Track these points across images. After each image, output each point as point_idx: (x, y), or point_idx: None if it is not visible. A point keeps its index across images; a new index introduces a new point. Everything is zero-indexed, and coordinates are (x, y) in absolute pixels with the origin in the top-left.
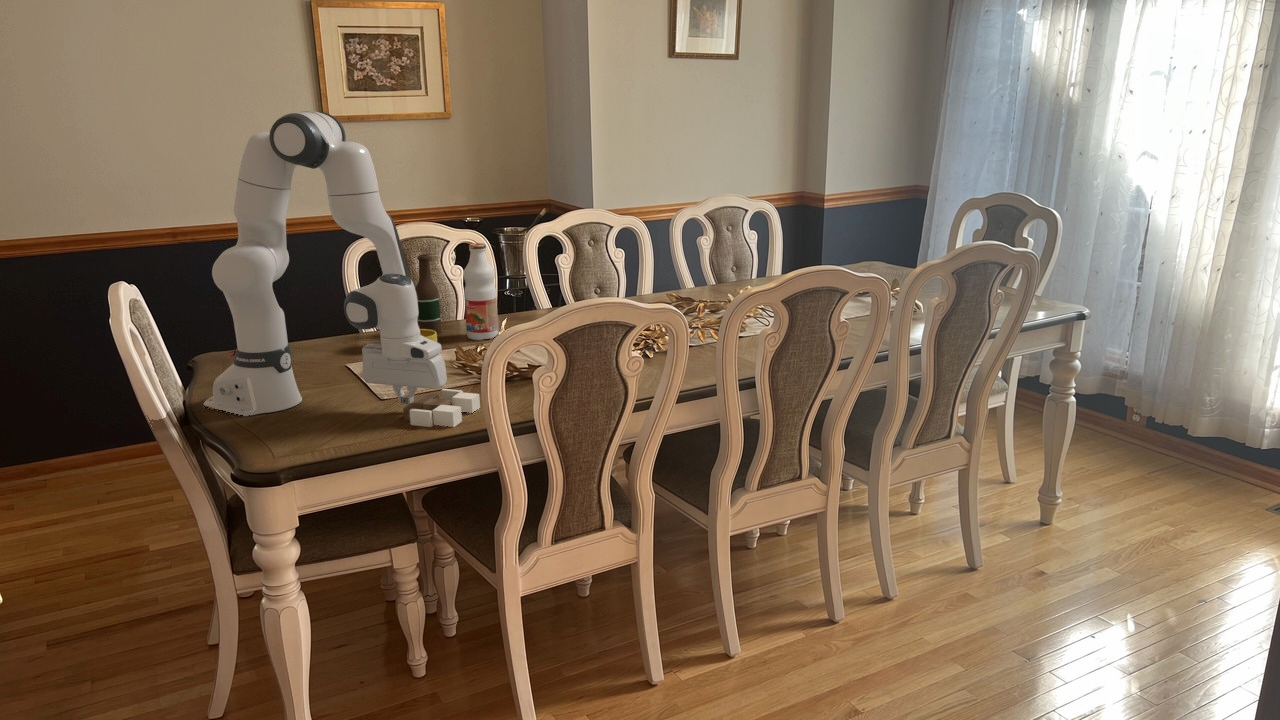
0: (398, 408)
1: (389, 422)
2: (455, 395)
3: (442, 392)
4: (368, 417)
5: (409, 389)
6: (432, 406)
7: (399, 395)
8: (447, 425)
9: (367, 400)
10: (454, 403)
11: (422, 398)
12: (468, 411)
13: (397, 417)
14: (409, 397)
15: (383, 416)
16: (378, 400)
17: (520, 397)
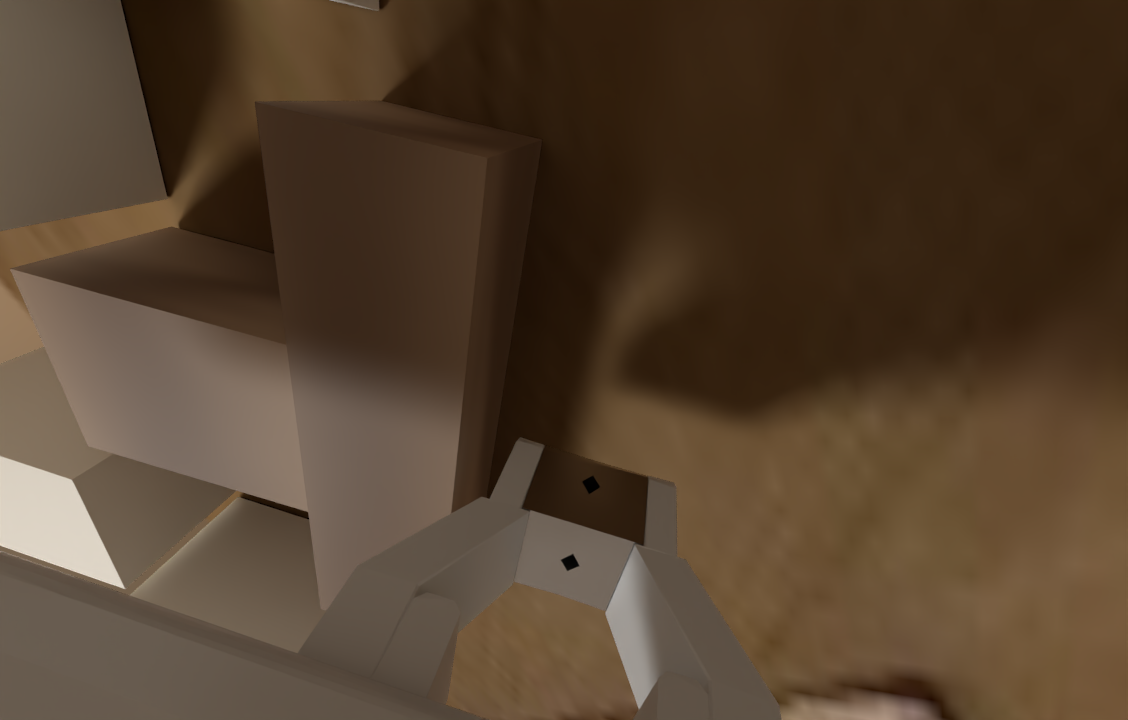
0: (718, 503)
1: (732, 26)
2: (88, 523)
3: None
4: (1110, 242)
5: (405, 616)
6: (168, 297)
7: (656, 566)
8: None
9: (1075, 705)
10: None
11: (403, 528)
12: None
13: (662, 248)
14: (489, 501)
15: (862, 283)
16: (953, 686)
17: None
